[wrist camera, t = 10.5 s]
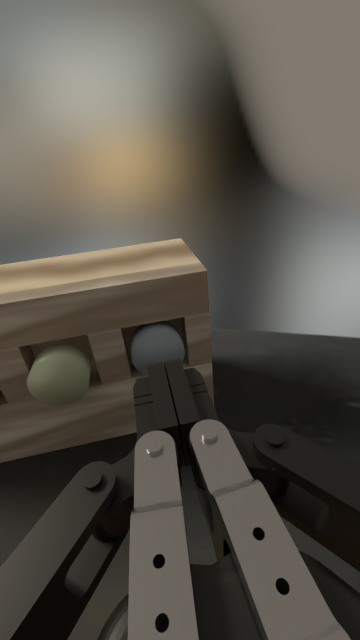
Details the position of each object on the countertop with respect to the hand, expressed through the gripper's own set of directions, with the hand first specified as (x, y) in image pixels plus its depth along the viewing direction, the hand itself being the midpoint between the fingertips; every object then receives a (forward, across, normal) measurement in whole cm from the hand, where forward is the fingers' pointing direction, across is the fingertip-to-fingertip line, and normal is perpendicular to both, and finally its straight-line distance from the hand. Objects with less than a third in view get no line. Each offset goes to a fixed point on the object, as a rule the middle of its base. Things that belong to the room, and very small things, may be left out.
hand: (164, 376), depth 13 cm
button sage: (+8, +7, +7) cm, 13 cm away
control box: (+14, +7, +14) cm, 22 cm away
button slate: (+10, 0, +7) cm, 12 cm away
